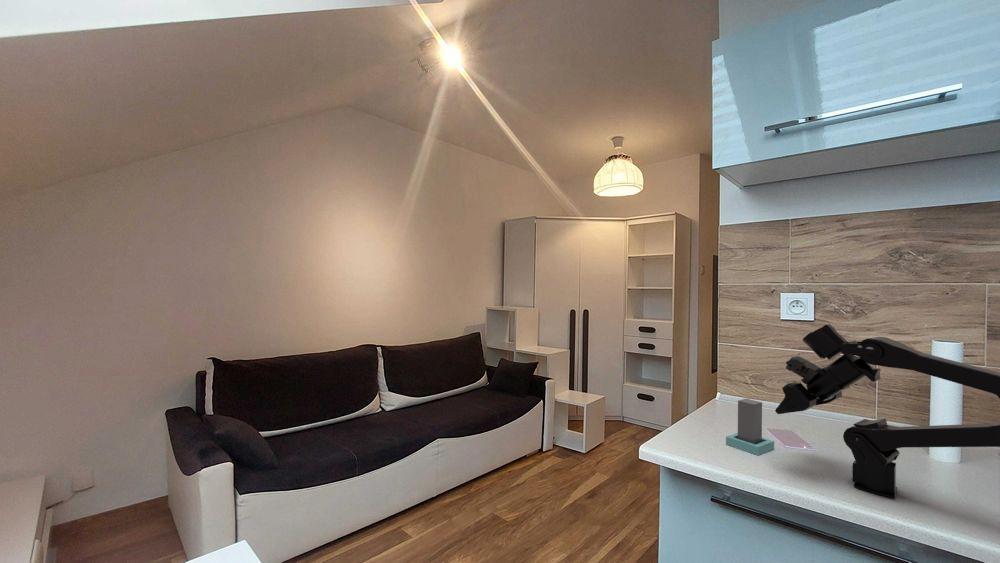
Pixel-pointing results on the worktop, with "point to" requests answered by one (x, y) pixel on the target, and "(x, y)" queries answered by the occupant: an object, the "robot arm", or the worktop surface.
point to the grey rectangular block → (750, 421)
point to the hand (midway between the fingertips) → (785, 409)
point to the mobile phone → (789, 439)
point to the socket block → (750, 445)
